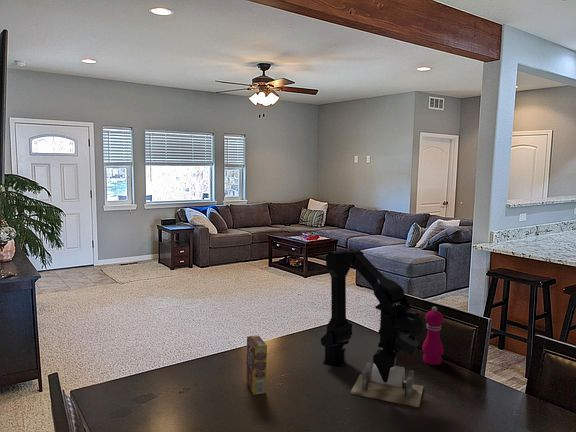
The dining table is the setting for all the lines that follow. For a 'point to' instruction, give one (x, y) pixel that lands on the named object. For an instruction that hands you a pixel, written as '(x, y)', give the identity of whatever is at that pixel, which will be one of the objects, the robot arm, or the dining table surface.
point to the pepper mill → (433, 338)
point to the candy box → (256, 364)
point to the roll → (394, 376)
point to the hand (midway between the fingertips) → (387, 375)
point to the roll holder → (388, 389)
